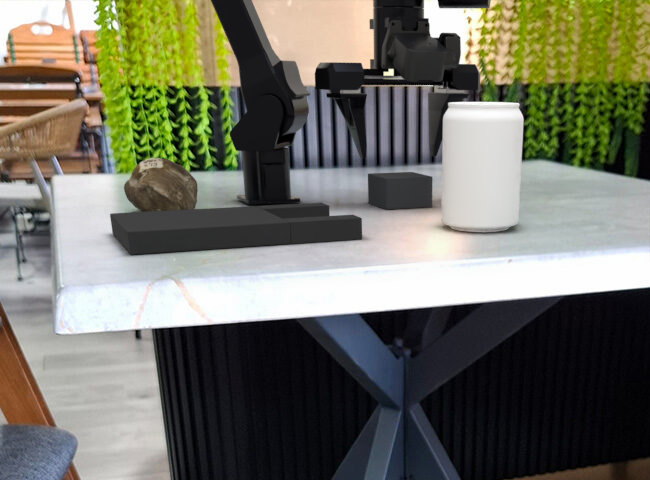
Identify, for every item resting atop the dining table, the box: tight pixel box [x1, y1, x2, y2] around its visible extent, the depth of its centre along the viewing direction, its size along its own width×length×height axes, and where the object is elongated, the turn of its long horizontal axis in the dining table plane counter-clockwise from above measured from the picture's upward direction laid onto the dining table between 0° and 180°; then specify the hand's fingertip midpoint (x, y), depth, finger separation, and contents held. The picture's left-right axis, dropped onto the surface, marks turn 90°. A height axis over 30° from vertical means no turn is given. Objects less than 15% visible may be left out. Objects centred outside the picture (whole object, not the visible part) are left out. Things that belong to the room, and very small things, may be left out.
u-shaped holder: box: [109, 202, 363, 256], centre depth 88 cm, size 12×22×2 cm, turn 114°
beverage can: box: [440, 101, 525, 233], centre depth 92 cm, size 8×8×12 cm
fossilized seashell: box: [123, 157, 199, 212], centre depth 100 cm, size 8×7×10 cm
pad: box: [367, 171, 433, 211], centre depth 109 cm, size 6×6×4 cm
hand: (398, 156), depth 107 cm, fingers open, 9 cm apart
